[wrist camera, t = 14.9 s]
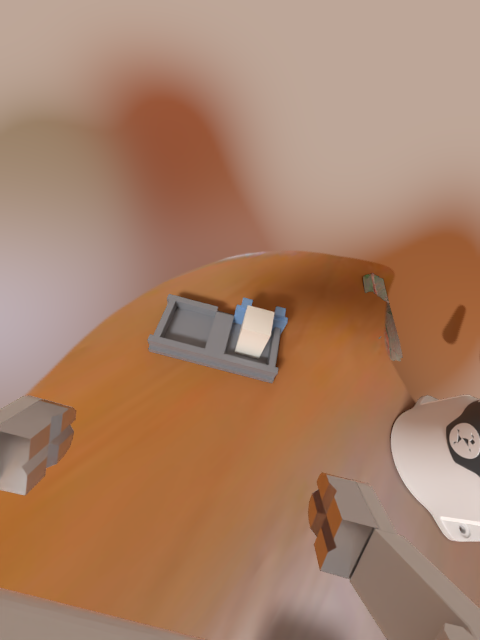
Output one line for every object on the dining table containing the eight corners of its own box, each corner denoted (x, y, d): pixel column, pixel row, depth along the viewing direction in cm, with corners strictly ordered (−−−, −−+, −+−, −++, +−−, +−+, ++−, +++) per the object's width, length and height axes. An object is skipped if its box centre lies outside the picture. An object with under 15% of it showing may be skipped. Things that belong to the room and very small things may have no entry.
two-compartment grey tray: (280, 327, 46) (290, 309, 41) (271, 383, 40) (282, 370, 36) (172, 299, 46) (169, 278, 41) (149, 351, 40) (142, 334, 35)
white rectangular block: (262, 337, 43) (274, 312, 37) (258, 358, 41) (270, 335, 34) (239, 331, 43) (247, 305, 36) (234, 352, 41) (241, 328, 34)
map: (380, 277, 57) (383, 274, 57) (405, 362, 47) (408, 360, 46) (359, 273, 57) (361, 270, 56) (379, 359, 46) (382, 357, 45)
